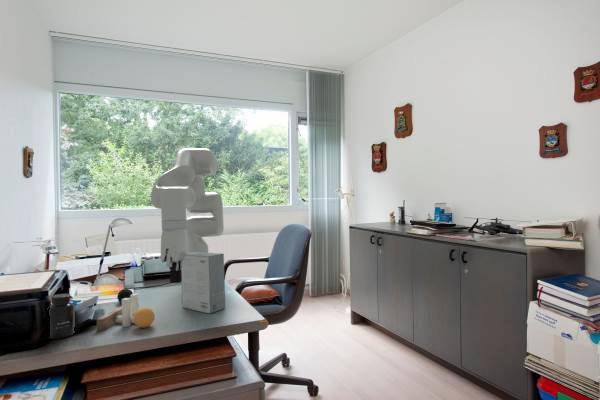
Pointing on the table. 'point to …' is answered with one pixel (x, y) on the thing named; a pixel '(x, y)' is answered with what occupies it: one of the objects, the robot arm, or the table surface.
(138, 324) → the ball
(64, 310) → the supplement bottle
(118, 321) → the front pin
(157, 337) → the table surface
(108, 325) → the backstop wall
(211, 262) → the hard drive box
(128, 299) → the back left pin
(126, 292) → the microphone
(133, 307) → the back right pin
